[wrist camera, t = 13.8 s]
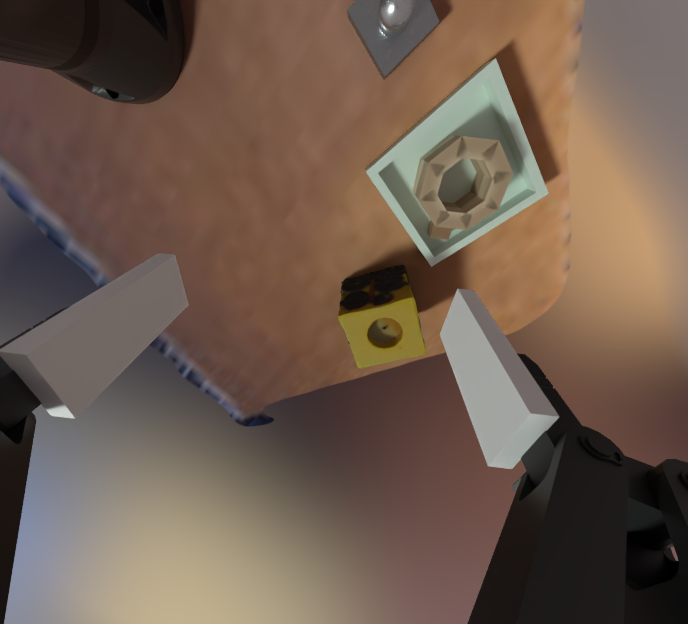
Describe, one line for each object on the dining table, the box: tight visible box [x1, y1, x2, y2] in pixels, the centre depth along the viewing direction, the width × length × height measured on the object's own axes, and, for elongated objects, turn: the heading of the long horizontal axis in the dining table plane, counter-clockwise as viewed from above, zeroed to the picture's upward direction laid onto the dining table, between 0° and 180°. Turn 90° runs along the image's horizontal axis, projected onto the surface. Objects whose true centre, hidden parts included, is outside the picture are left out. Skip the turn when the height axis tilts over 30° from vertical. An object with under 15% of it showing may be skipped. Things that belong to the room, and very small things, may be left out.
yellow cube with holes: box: [338, 265, 426, 368], centre depth 40 cm, size 10×10×10 cm
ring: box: [413, 135, 513, 240], centre depth 31 cm, size 11×9×5 cm
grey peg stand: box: [347, 0, 440, 79], centre depth 24 cm, size 6×6×6 cm
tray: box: [366, 58, 549, 267], centre depth 32 cm, size 15×15×3 cm
